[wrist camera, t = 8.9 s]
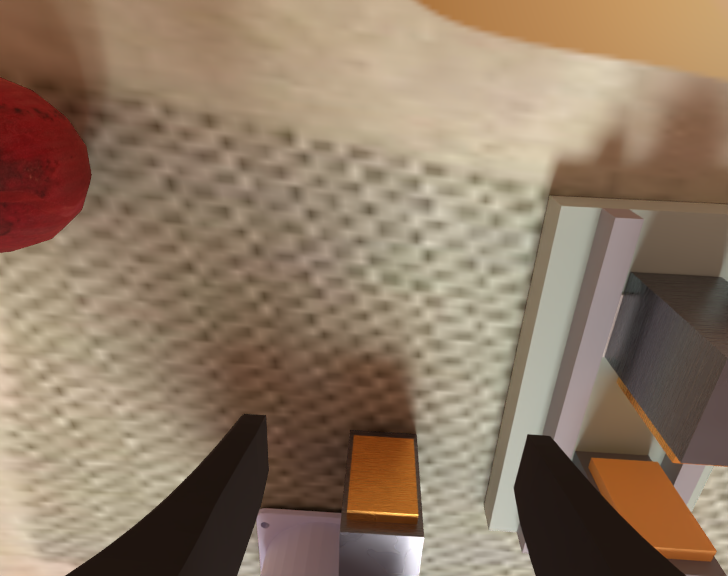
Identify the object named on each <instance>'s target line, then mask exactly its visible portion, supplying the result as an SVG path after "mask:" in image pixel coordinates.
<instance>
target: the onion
mask: <svg viewBox="0 0 728 576" xmlns="http://www.w3.org/2000/svg"><path fill="white" fill-rule="evenodd" d="M91 175H92V174H91V169H90V164H89V158H88V153H87V148H86V145H85V144H84V142H83V141H82V139H81V138H80V136H79V135H78V133H77V132H76V130H75V129H74V127H73V126H72V124H71V123H70V121H69V120H68V119H67V118H66V117H65V116H64V115H63V114H62V113H60V112H59V111H58V110H57V109H55V108H54V107H53V106H52V105H50V104H49V103H48V102H46V101H45V100H44V99H43V98H41V97H40V96H39V95H38V94H36V93H35V92H34V91H32V90H30V89H27V88H25V87H23V86H20V85H18V84H15V83H13V82H10V81H8V80H6V79H3V78H1V77H0V253H3V252H11V251H15V250H18V249H21V248H25V247H28V246H31V245H34V244H38V243H41V242H44V241H47V240H50V239H52V238H53V237H54V236H55V235H56V234H58V233H59V232H60V231H61V230H62V229H63V228H64V227H65V226H66V225H67V224H68V223H69V222H70V221H71V220H72V219H73V218H74V217H75V216H76V215H77V214H78V213H79V212H80V211H81V210H82V208H83V204H84V201H85V198H86V194H87V191H88V188H89V184H90V180H91Z"/></svg>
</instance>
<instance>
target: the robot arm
mask: <svg viewBox="0 0 728 576" xmlns="http://www.w3.org/2000/svg"><path fill="white" fill-rule="evenodd" d="M268 471H269V466H268V446H267V426H266V415H252V414H244V415H242V416H241V417H240V418H239V419H238V421H237V422H236V423H235V424H234V426H233V427H232V428H231V429H230V430H229V432H228V433H227V434H226V435H225V436H224V438H223V439H222V440H221V441H220V442H219V443H218V445H217V446H216V447H215V448H214V449H213V450H212V451H211V453H210V454H209V455H208V456H207V457H206V458H205V459H204V460H203V461H202V462H201V463H200V465H199V466H198V467H197V468H196V469H195V470H194V471H193V472H192V473H191V474H190V475H189V476H188V477H187V478H186V479H185V480H184V481H183V482H182V483H181V484H180V485H179V486H178V487H177V488H176V489H175V490H174V491H173V492H172V493H171V494H170V495H169V496H168V497H167V498H166V499H164V500H163V501H162V502H161V503H160V504H159V505H158V506H157V507H156V508H155V509H153V510H152V511H151V512H150V513H149V514H148V515H146V516H145V517H144V518H143V519H142V520H141V521H139V522H138V523H137V524H136V525H135V526H133V527H132V528H131V529H130V530H128V531H127V532H126V533H124V534H123V535H122V536H121V537H119V538H118V539H117V540H115V541H114V542H113V543H112V544H110V545H109V546H108V547H106V548H105V549H104V550H102V551H101V552H99V553H98V554H97V555H95V556H94V557H92V558H91V559H89V560H88V561H86V562H85V563H83V564H82V565H81V566H79V567H78V568H76V569H75V570H73V571H72V572H70V573H69V574H67V575H66V576H237V574H238V571H239V568H240V566H241V563H242V560H243V557H244V554H245V551H246V548H247V545H248V542H249V539H250V536H251V534H252V531H253V528H254V525H255V522H257V533H258V545H259V556H260V567H261V575H260V576H339V535H340V523H341V513H332V512H317V511H302V510H287V509H272V508H262V509H260V507H261V503H262V498H263V494H264V490H265V485H266V480H267V476H268ZM514 494H515V500H516V505H517V511H518V516H519V521H520V526H521V529H522V533H523V536H524V539H525V543H526V546H527V549H528V553H529V556H530V559H531V562H532V565H533V569H534V572H535V575H536V576H686V575H685V574H684V573H683V572H681V571H680V570H679V569H678V568H677V567H675V566H674V565H673V564H672V563H671V562H670V561H669V560H668V559H666V558H665V557H664V556H663V555H662V554H661V553H660V552H659V551H657V550H656V549H655V548H654V547H653V546H652V545H651V544H650V543H649V542H648V541H646V540H645V539H644V538H643V537H642V536H641V535H640V534H639V533H638V532H637V531H636V530H635V529H634V528H633V527H632V526H631V525H630V524H629V523H628V522H627V521H626V520H625V519H624V518H623V517H622V516H621V515H620V514H619V513H618V512H617V511H616V510H615V509H614V508H613V507H612V506H611V505H610V503H609V502H608V501H607V500H606V499H605V498H604V497H603V496H602V495H601V494H600V493H599V492H598V490H597V489H596V488H595V487H594V486H593V485H592V484H591V483H590V482H589V480H588V479H587V478H586V477H585V476H584V475H583V474H582V472H581V471H580V470H579V469H578V468H577V467H576V465H575V464H574V463H573V462H572V461H571V460H570V458H569V457H568V456H567V455H566V454H565V453H564V451H563V450H562V449H561V448H560V447H559V446H558V444H557V443H556V442H555V441H554V440H553V439H552V437H551V436H546V435H532V434H527V438H526V442H525V446H524V450H523V454H522V457H521V461H520V465H519V469H518V473H517V477H516V480H515V484H514Z"/></svg>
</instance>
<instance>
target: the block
mask: <svg viewBox="0 0 728 576" xmlns="http://www.w3.org/2000/svg"><path fill="white" fill-rule="evenodd" d="M423 541H424V531H423V517H422V503H421V490H420V476H419V462H418V448H417V434H404V433H388V432H372V431H356V430H350V436H349V446H348V455H347V465H346V475H345V484H344V494H343V504H342V513H341V523H340V535H339V576H419V570H420V563H421V555H422V548H423Z"/></svg>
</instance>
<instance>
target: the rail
mask: <svg viewBox="0 0 728 576" xmlns="http://www.w3.org/2000/svg"><path fill="white" fill-rule="evenodd" d="M631 272H642V273H659V274H677V275H695V276H713V277H722V278H723V279H725V280H726V281H728V204H713V203H692V202H672V201H651V200H631V199H610V198H590V197H569V196H549V200H548V205H547V210H546V214H545V219H544V224H543V229H542V233H541V238H540V243H539V247H538V252H537V257H536V262H535V266H534V271H533V276H532V281H531V285H530V290H529V295H528V300H527V304H526V309H525V314H524V319H523V323H522V328H521V333H520V338H519V342H518V347H517V352H516V357H515V361H514V366H513V371H512V376H511V380H510V385H509V390H508V395H507V399H506V404H505V409H504V414H503V418H502V423H501V428H500V433H499V437H498V442H497V447H496V452H495V456H494V461H493V466H492V471H491V475H490V480H489V485H488V489H487V494H486V499H485V504H484V510H485V515H486V519H487V524H488V529H489V530H492V531H507V532H517V535H518V539H519V542H520V546H521V550H522V553H528V549H527V546H526V543H525V539H524V536H523V533H522V529H521V526H520V521H519V516H518V511H517V505H516V500H515V494H514V484H515V480H516V477H517V473H518V469H519V465H520V461H521V457H522V454H523V450H524V446H525V442H526V438H527V434H532V435H546V436H551V437H552V439H553V440H554V441H555V442H556V443H557V444H558V446H559V447H560V448H561V449H562V450H563V451H564V453H565V454H566V455H567V456H568V457H569V458H570V460H571V461H572V462H573V463H574V464H575V465H576V467H577V468H578V469H579V470H580V471H581V472H582V474H583V475H584V476H585V477H586V478H587V479H588V480H589V482H590V483H591V484H592V485H593V486H594V487H595V488H596V489H597V490H598V492H599V493H600V494H601V495H602V496H603V497H604V498H605V499H606V500H607V501H608V502H609V503H610V505H611V506H612V507H613V508H614V509H615V510H616V511H617V512H618V513H619V514H620V515H621V516H622V517H623V518H624V519H625V520H626V521H627V522H628V523H629V524H630V525H631V526H632V527H633V528H634V529H635V530H636V531H637V532H638V533H639V534H640V535H641V536H642V537H643V538H644V539H645V540H646V541H648V542H649V543H650V544H651V545H652V546H653V547H654V548H655V549H656V550H657V551H659V552H660V553H661V554H662V555H663V556H664V557H665V558H666V559H668V560H669V561H670V562H671V563H672V564H673V565H674V566H675V567H677V568H678V569H679V570H680V571H681V572H683V573H684V574H685V575H686V576H726V574H725V572H724V571H723V569H722V568H721V566H720V565H719V563H718V562H717V560H716V559H715V557H714V555H715V554H716V552H717V551H716V549H715V548H714V546H713V545H712V543H711V542H710V540H709V539H708V537H707V536H706V534H705V533H704V531H703V530H702V528H701V527H700V525H699V524H698V522H697V521H696V519H695V518H694V516H693V515H692V513H691V512H692V510H693V508H694V506H695V504H696V502H697V500H698V498H699V496H700V494H701V492H702V490H703V488H704V486H705V484H706V482H707V480H708V478H709V476H710V473H711V471H712V469H713V467H714V466H710V465H695V464H679V463H672V462H671V460H670V459H669V457H668V456H667V454H666V453H665V451H664V450H663V449H662V447H661V446H660V444H659V443H658V441H657V440H656V439H655V437H654V436H653V434H652V433H651V431H650V430H649V428H648V427H647V426H646V424H645V423H644V421H643V420H642V418H641V417H640V416H639V414H638V413H637V411H636V410H635V408H634V407H633V405H632V404H631V403H630V401H629V400H628V398H627V397H626V395H625V394H624V393H623V391H622V390H621V388H620V387H619V385H618V384H617V383H616V382H617V379H618V375H617V373H616V372H615V371H614V369H613V368H612V366H611V365H610V364H609V362H608V361H607V359H606V358H605V353H606V350H607V347H608V344H609V341H610V337H611V334H612V331H613V328H614V325H615V321H616V318H617V315H618V312H619V309H620V306H621V302H622V299H623V296H624V293H625V290H626V286H627V283H628V280H629V277H630V274H631Z"/></svg>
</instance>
